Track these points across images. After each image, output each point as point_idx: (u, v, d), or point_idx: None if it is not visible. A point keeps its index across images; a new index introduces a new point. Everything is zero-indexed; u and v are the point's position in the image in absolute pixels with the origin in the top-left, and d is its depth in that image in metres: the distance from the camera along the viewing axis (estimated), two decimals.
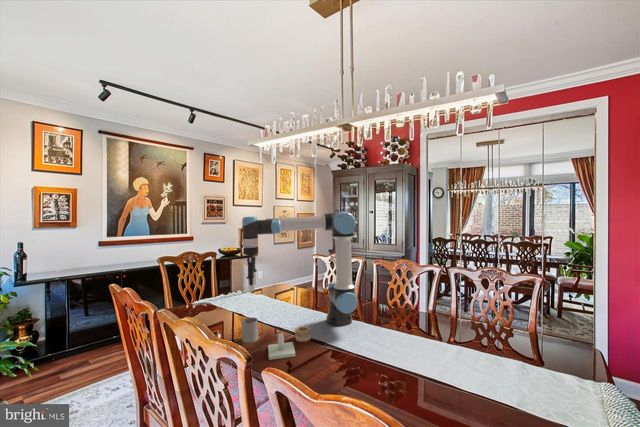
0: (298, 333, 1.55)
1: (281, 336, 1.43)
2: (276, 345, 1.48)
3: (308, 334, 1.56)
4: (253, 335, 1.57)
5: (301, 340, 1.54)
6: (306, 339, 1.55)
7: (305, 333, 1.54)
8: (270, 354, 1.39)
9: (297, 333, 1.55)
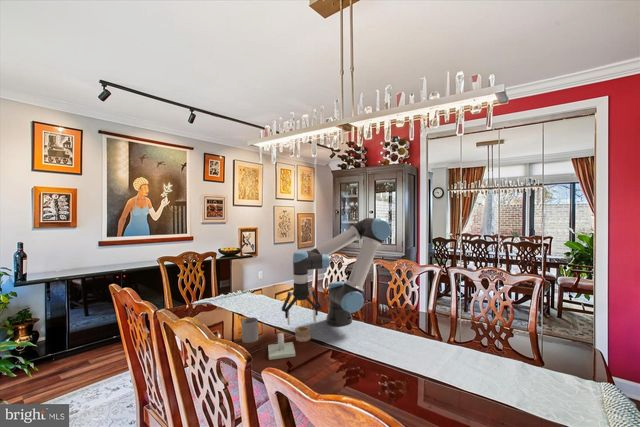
0: (298, 333, 1.55)
1: (281, 336, 1.43)
2: (276, 345, 1.48)
3: (308, 334, 1.56)
4: (253, 335, 1.56)
5: (301, 340, 1.54)
6: (306, 339, 1.55)
7: (305, 333, 1.54)
8: (270, 354, 1.39)
9: (297, 333, 1.55)
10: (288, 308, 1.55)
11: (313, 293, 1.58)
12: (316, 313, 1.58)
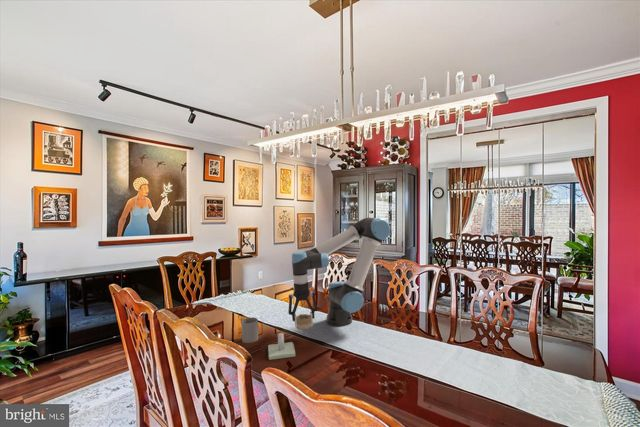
0: (299, 321, 1.55)
1: (281, 336, 1.43)
2: (276, 345, 1.48)
3: (309, 322, 1.56)
4: (253, 335, 1.57)
5: (302, 328, 1.54)
6: (307, 327, 1.55)
7: (306, 321, 1.55)
8: (270, 354, 1.39)
9: (298, 321, 1.55)
10: (294, 311, 1.56)
11: (313, 295, 1.58)
12: (313, 316, 1.58)
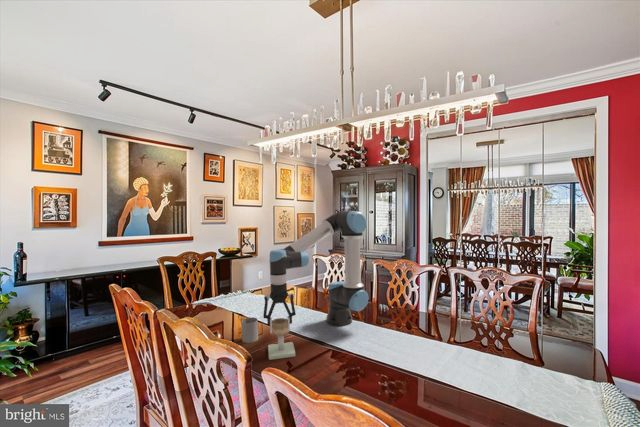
0: (274, 325, 1.40)
1: (281, 336, 1.43)
2: (276, 345, 1.48)
3: (285, 327, 1.41)
4: (253, 335, 1.56)
5: (277, 333, 1.40)
6: (283, 332, 1.40)
7: (282, 325, 1.40)
8: (270, 354, 1.39)
9: (273, 325, 1.41)
10: (269, 314, 1.42)
11: (292, 297, 1.43)
12: (290, 321, 1.44)
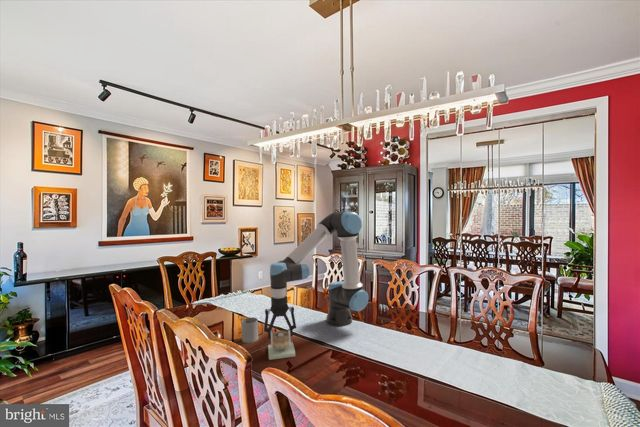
0: (275, 339, 1.41)
1: None
2: None
3: (286, 340, 1.42)
4: (253, 335, 1.56)
5: (278, 347, 1.40)
6: (283, 346, 1.40)
7: (282, 339, 1.40)
8: (270, 354, 1.39)
9: (274, 339, 1.41)
10: (270, 328, 1.42)
11: (292, 310, 1.44)
12: (291, 334, 1.44)
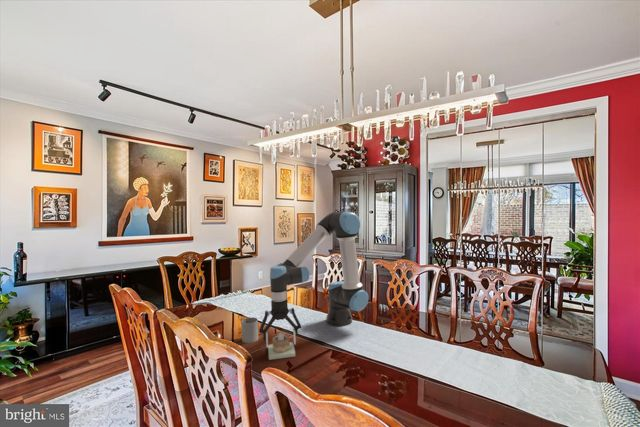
0: (275, 343, 1.41)
1: (281, 336, 1.43)
2: None
3: (286, 344, 1.42)
4: (253, 335, 1.56)
5: (278, 351, 1.40)
6: (284, 350, 1.41)
7: (283, 343, 1.40)
8: (270, 354, 1.39)
9: (274, 343, 1.41)
10: (266, 329, 1.41)
11: (293, 312, 1.44)
12: (296, 334, 1.45)
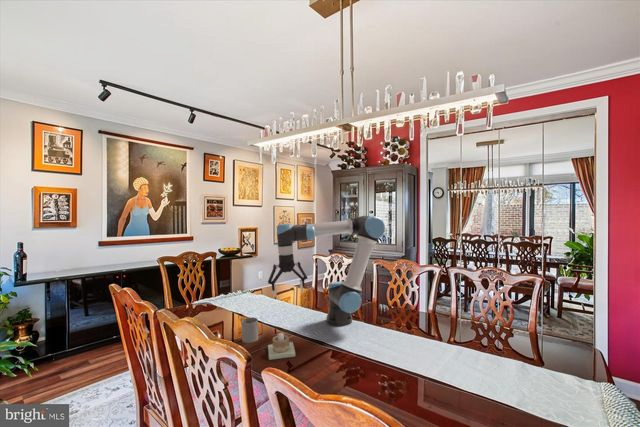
0: (275, 343, 1.41)
1: (281, 336, 1.43)
2: None
3: (286, 344, 1.42)
4: (253, 335, 1.56)
5: (278, 351, 1.40)
6: (284, 350, 1.41)
7: (283, 343, 1.40)
8: (270, 354, 1.39)
9: (274, 343, 1.41)
10: (274, 280, 1.55)
11: (299, 264, 1.58)
12: (303, 284, 1.59)
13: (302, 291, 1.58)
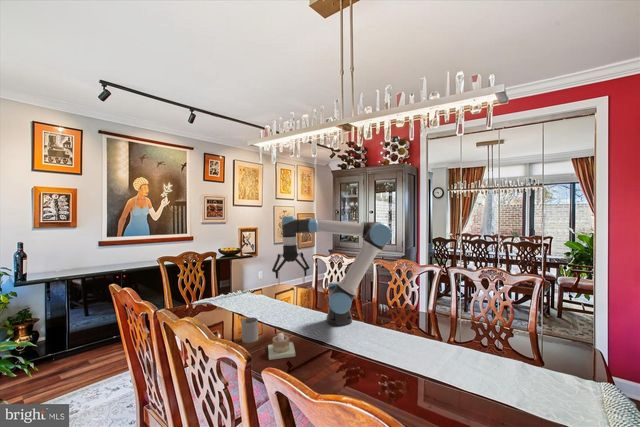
0: (275, 343, 1.41)
1: (281, 336, 1.43)
2: None
3: (286, 344, 1.42)
4: (253, 335, 1.57)
5: (278, 351, 1.40)
6: (284, 350, 1.41)
7: (283, 343, 1.40)
8: (270, 354, 1.39)
9: (274, 343, 1.41)
10: (278, 269, 1.64)
11: (302, 255, 1.66)
12: (305, 274, 1.67)
13: (304, 280, 1.67)
